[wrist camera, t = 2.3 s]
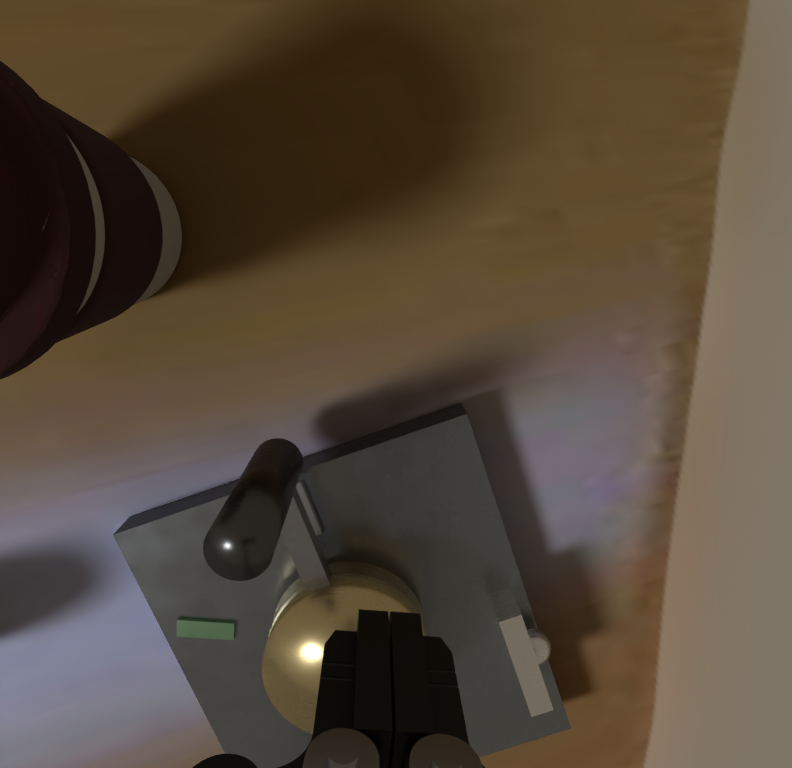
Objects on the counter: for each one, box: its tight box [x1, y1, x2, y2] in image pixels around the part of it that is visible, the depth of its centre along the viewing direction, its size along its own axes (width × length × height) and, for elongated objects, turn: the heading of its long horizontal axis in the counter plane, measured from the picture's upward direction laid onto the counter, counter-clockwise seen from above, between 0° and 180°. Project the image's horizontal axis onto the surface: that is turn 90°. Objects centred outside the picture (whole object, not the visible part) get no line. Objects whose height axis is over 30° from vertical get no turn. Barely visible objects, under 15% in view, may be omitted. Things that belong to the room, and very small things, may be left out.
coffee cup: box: [0, 61, 182, 379], centre depth 20 cm, size 10×10×15 cm
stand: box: [113, 404, 571, 768], centre depth 31 cm, size 20×19×4 cm
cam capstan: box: [203, 438, 426, 734], centre depth 25 cm, size 15×8×8 cm, turn 19°
